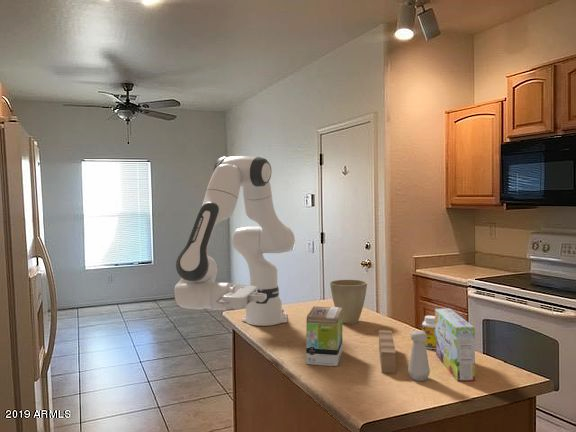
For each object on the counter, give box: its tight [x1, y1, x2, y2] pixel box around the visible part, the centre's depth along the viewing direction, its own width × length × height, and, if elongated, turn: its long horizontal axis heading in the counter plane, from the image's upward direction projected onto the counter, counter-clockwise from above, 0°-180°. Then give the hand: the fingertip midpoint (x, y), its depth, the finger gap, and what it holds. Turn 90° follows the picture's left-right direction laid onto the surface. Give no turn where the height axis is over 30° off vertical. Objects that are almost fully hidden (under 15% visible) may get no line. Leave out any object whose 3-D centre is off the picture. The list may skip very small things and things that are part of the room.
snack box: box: [434, 308, 476, 382], centre depth 137 cm, size 21×6×15 cm, turn 178°
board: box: [378, 329, 397, 374], centre depth 144 cm, size 22×4×6 cm, turn 171°
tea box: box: [305, 305, 344, 367], centre depth 147 cm, size 15×10×15 cm
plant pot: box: [329, 279, 368, 325], centre depth 190 cm, size 15×15×16 cm
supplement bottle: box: [421, 315, 436, 350], centre depth 156 cm, size 6×6×10 cm
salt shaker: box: [407, 330, 431, 382], centre depth 129 cm, size 6×6×13 cm
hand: (265, 297), depth 150 cm, fingers closed
